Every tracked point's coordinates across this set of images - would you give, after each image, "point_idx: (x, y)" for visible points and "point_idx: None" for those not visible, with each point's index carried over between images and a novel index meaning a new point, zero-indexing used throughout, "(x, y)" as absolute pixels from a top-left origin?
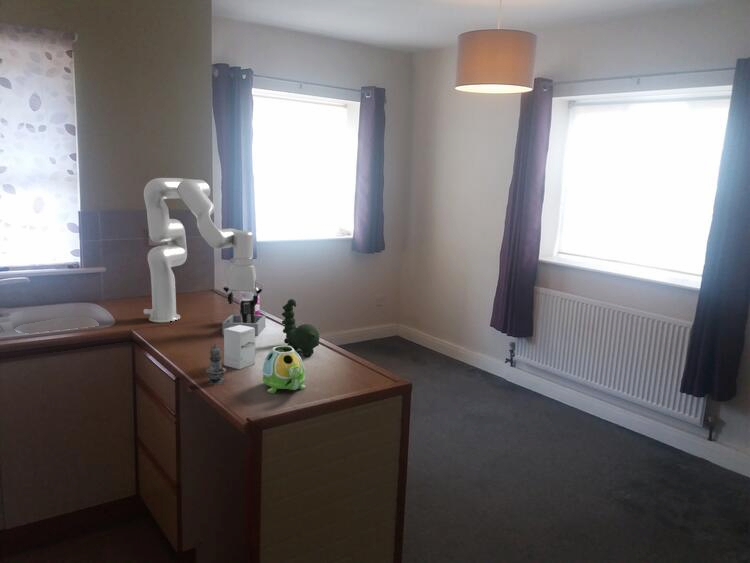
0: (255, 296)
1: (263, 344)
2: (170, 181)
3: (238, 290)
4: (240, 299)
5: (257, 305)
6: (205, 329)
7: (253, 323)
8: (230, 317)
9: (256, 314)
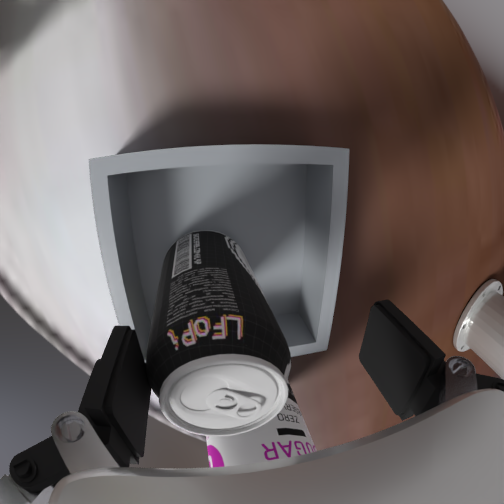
0: (94, 415)
1: (65, 31)
2: None
3: (386, 433)
4: (310, 447)
5: (209, 441)
6: (399, 234)
7: (122, 168)
8: (326, 294)
9: None
